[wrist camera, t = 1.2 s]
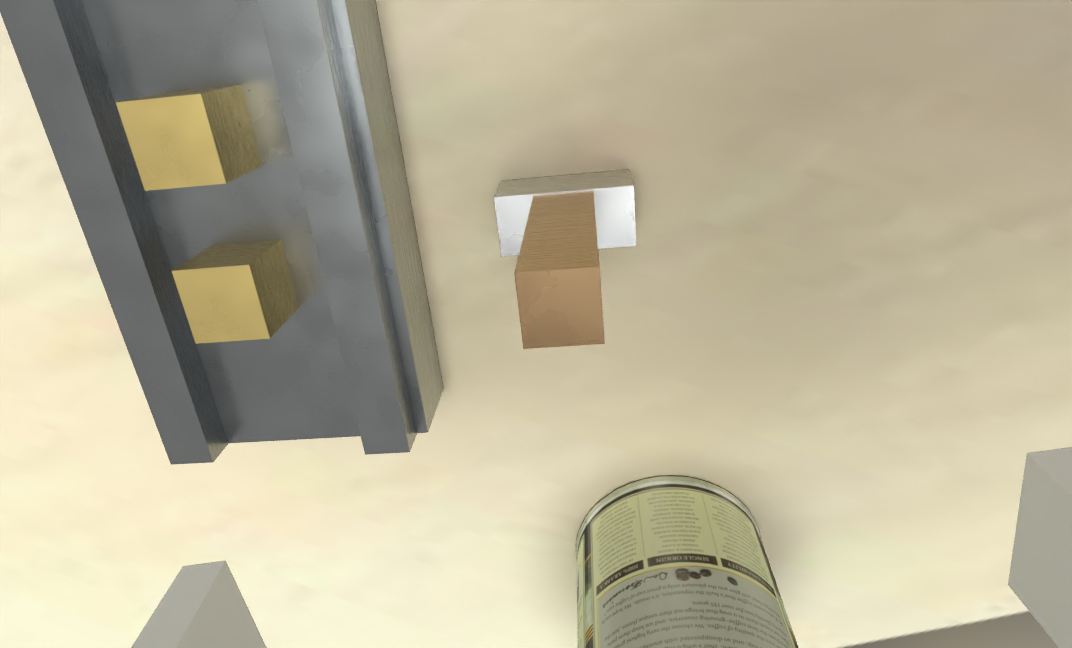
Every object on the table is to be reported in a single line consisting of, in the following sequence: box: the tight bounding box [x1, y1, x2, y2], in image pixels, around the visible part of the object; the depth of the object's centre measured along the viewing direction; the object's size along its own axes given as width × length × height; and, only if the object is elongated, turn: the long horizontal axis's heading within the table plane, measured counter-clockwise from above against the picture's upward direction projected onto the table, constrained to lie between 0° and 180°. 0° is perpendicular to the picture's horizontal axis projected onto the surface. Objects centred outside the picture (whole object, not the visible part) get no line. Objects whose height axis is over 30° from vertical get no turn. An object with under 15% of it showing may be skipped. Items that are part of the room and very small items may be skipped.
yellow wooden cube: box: [116, 85, 262, 191], centre depth 25 cm, size 3×3×3 cm
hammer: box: [494, 170, 636, 349], centre depth 26 cm, size 6×2×12 cm, turn 96°
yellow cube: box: [172, 240, 298, 344], centre depth 28 cm, size 3×3×3 cm
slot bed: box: [0, 0, 443, 464], centre depth 29 cm, size 12×20×6 cm, turn 6°
